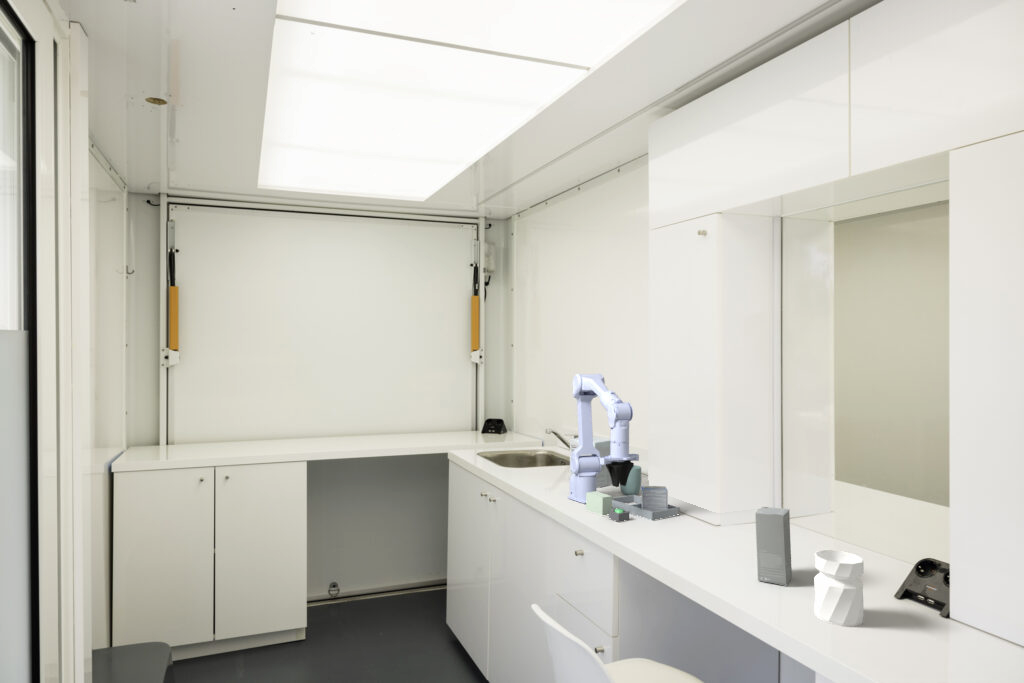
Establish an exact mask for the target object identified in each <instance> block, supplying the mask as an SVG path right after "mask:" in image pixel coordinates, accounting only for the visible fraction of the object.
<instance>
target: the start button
mask: <svg viewBox="0 0 1024 683" xmlns="http://www.w3.org/2000/svg"><path fill="white" fill-rule="evenodd" d="M614 510H615V512H617V513H623V509H615V508H614Z"/></svg>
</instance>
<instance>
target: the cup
mask: <svg viewBox="0 0 1024 683" xmlns="http://www.w3.org/2000/svg"><path fill="white" fill-rule="evenodd" d="M641 487H642V466H640V465H635V464H634V466H633V468H632V469H631V471H630V474H629V476H628V480H627V484H626V486H623V485H620V484H619V488H620V492H621V493H622V494H623V495H624V496H629V495H638V494H639V492H640V491H641Z"/></svg>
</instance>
